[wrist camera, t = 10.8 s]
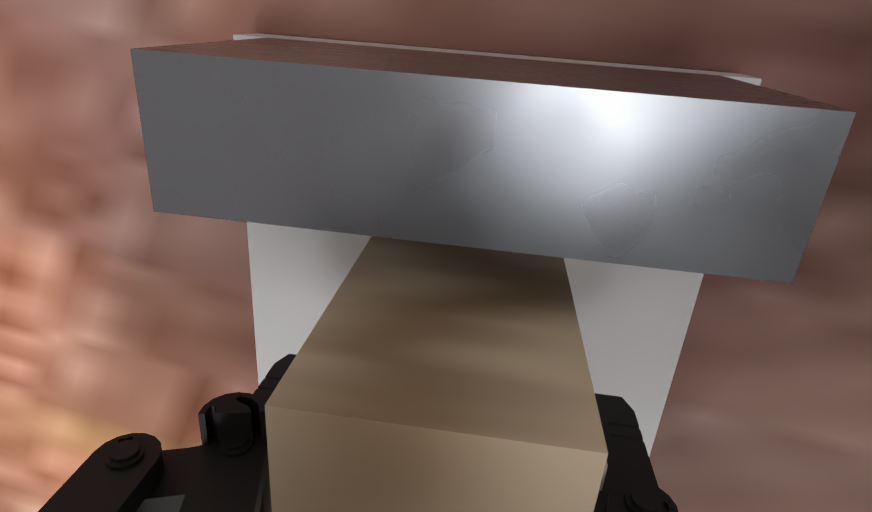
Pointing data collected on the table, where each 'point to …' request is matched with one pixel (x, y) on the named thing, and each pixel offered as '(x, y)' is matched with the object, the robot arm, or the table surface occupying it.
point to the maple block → (439, 390)
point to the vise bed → (490, 177)
